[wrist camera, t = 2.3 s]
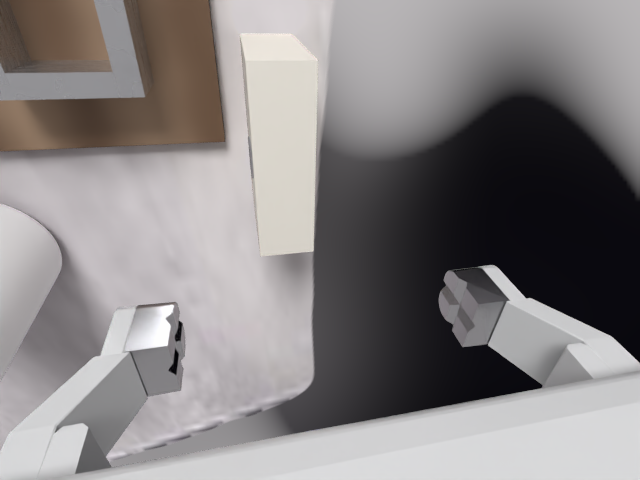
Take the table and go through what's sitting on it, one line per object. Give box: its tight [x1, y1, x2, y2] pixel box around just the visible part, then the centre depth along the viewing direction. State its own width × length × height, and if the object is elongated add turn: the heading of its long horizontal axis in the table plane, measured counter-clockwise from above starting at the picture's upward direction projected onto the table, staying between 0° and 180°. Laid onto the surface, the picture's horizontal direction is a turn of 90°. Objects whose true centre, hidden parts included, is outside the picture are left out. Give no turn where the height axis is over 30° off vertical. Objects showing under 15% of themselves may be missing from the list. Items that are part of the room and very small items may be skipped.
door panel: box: [240, 33, 318, 257], centre depth 22 cm, size 3×10×8 cm, turn 179°
